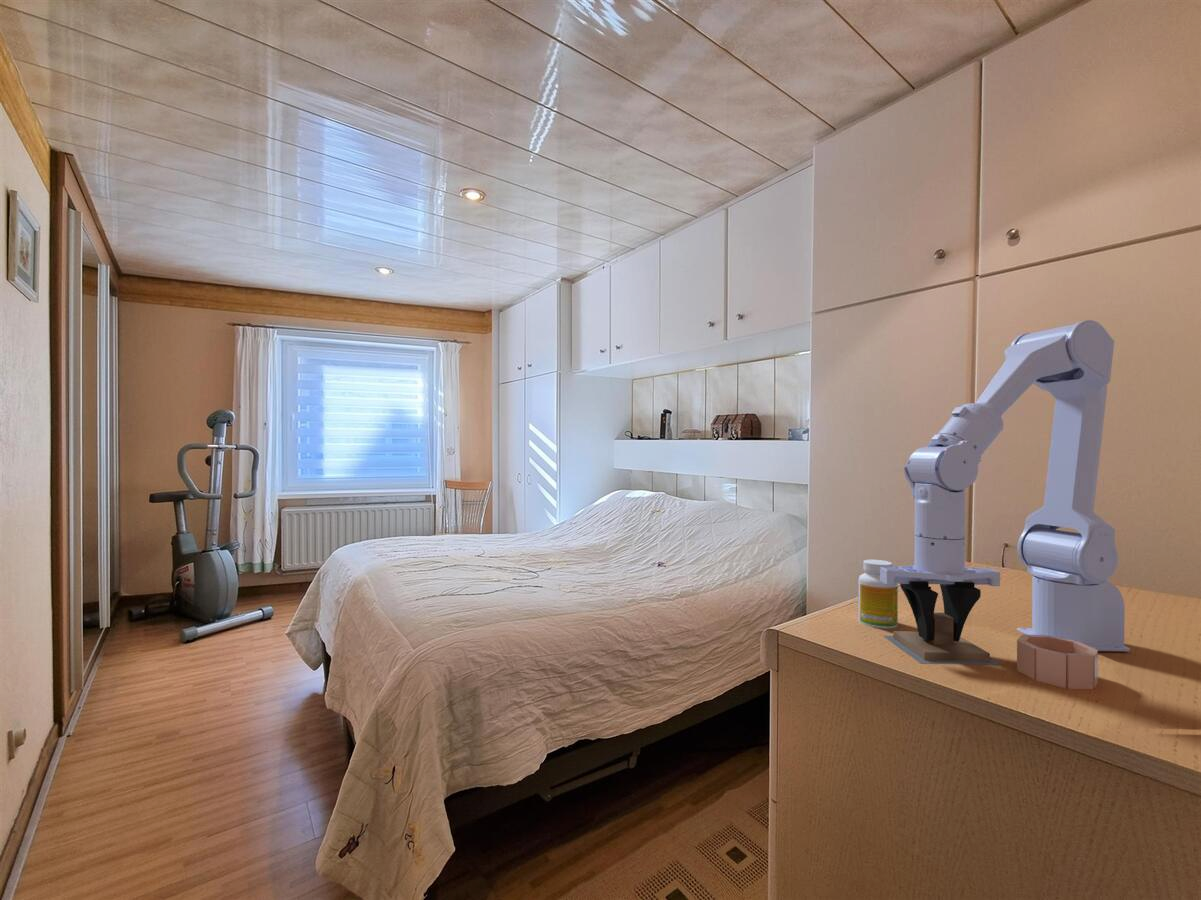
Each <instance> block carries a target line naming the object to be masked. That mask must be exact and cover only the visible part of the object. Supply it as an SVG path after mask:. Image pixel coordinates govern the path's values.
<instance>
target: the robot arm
mask: <svg viewBox="0 0 1201 900" xmlns="http://www.w3.org/2000/svg"><path fill="white" fill-rule="evenodd" d="M1114 348H1115V340H1114V339H1113V338H1112V336H1111V335H1110V334H1109V332H1108V331H1107V330H1106V328H1104V326H1103V325H1102V324H1100V322H1098V321H1096V320H1092V319H1087V320H1086V319H1085V320H1082V321H1079V322H1077V323H1073V324H1067V325H1063V326H1058V327H1055V328H1050V329H1044V330H1041V331H1034V332H1025V333H1022V334H1019V335H1018V336H1017V337H1015V338H1014V340H1013V341H1012V342H1011V344H1010V345H1009V346H1008V347H1007V348H1006V349H1005V350H1004V362H1003V363H1002V365H1001V366H1000V368H999V369H998V371H997V372H996V373H995V374H994V376H993V377H992V379H991V380H990V381H989V383H988V385H987V386H986V388H984V391H983V392H982V393H980V396H979V398H978V399H977V400H976V402H971V403H964V404H962V405H960V406H958V407H957V406H956V407H955V408H954V409H952V411H951V413H950V414H951V417H950V419H949V420H948V421H947V422H946V423H945V424H944V426H943V427H942V428H941V429H940V430H939V432H938V433H935V434H934V435H933V436H932V437H931V439H930V442H929V444H928V446H922V447H919V448H917V449H916V450H914V452H912V454H911V455H910V456H909V457H908V459H907V462H906V465H905V466H903V473H904V476H905V479H906V480H907V482H908V483H909V485H910V488H911V495H910V496H912V498H913V500H914V532H913V534H914V546H913V547H914V551H913V552H914V556H913V557H914V561H913V562H914V564H913V565H901V566H899V565H898V566H893V567H880V581H881V582H883V583H885V584H887V585H894V584H898V585H900V588H901V590H902V592H903V594H904V595H905V597H906V599H907V601H908V603H909V606H910V608H911V610H912V613H913V616H914V620H915V623H916V628H917V631H918V633H919V636H920V637H922V638H923V639H925V640H927V641H932V639H933V616H934V613H935V608H936V603H937V599H938V598H939V597H938V596H939V593H938V592H936V591H935V590H933V589H932V586H930V585H939V586H940V590H941V591H940V592H941V595H942V596H941V597H942V602H943V613H944V614H946V615H948V616H950V617H952V618H954V640H953V641H959V640H960V637H962V632H963V629H964V626H965V623H966V621H967V619H968V616H969V614H970V612H971V611H972V609H973V607H974V606H975V604H977V602H978V601H979V599H980V598H981V594H982V593H981V588H980V589H979V588H977V587H976V586H977V585H978V586H990V587H1001V571H998V570H996V569H992V568H981V567H979V568H978V567H967V566H966V489H967V488H969V487H970V486H971V485H972V484H975V482H976V480H977V478H978V472H979V464H980V463H981V462H982V460H981V459H982V456H983V454H984V452H986V451H987V450H988V448H989V447H990V446H991V444H992V443H993V442H994V441H995V440H996V439H997V437H999V435H1000V433H1002V431H1003V429H1004V428H1005V427H1004V424H1005V423H1004V420H1003V417H1002V416H1004V414H1005V413H1006V412H1007V411H1008V410H1009V409H1010V408H1011V407H1012V406H1013V405H1014V404H1015V403H1016V402H1017V401H1018V400H1019V399H1020V398H1021V396H1022V395H1024V394H1025V392H1027V390H1028V389H1029V388H1030V387H1031V386H1032V385H1035V386H1036V387H1038V388H1039V389H1041V390H1042V391H1045V392H1049V393H1050V395H1051V396H1053V398H1054V399H1055V404H1054V413H1053V423H1052V430H1051V438H1050V440H1051V441H1050V448H1049V455H1048V456H1049V458H1048V466H1047V473H1046V484H1045V490H1044V491H1045V493H1044V499H1043V501H1044V502H1043V506H1042V507H1041V508H1040V507H1039V509H1038V510H1035V511H1034V512H1032V513H1031V514H1029V515H1027V517H1026V518H1025V524H1024V528H1023V531H1022V533H1021V534H1020V536H1019V538H1018V541H1017V545H1016V547H1017V554H1018V558H1019V560H1020V562H1021V563H1022V564H1023V565H1024V566H1026V568H1027V571H1026V572H1027V573H1028V574H1031V576H1032V579H1031V580H1032V584H1031V586H1032V588H1031V589H1032V590H1031V591H1032V595H1031V596H1032V599H1031V604H1032V605H1031V608H1032V609H1031V611H1032V613H1031V614H1032V615H1031V617H1032V619H1031V621H1032V622H1031V623H1032V624H1031V625H1032V626H1031V627H1030V628H1029V627H1017V628H1016V631H1018V632H1020V633H1022V634H1023V635H1046V636H1048V635H1049V636H1054V637H1059V638H1064V639H1069V640H1074V641H1076V642H1080V643H1083V644H1085V645H1087V646H1090V647H1092V648H1094V649H1097V650H1098V652H1130V651H1131V648H1130V647H1128V646H1126V645H1125V608H1126V607H1125V606H1126V605H1125V601H1124V597H1123V595H1122V593H1121V590H1119V588H1118V587H1117V586H1116V585H1115V584H1113V583H1112V582H1110V581H1108V580H1109V579H1110V578H1111V577H1112V576H1113V574H1115V572H1116V570H1117V568H1118V564H1119V554H1118V550H1117V547H1116V542H1115V535H1116V529H1115V528H1114V527H1113V526H1112V525H1111V524H1110V523H1108V522H1107V521H1105V520H1104V519H1103V518H1102V517H1100V515H1098V514H1097V513H1095V501H1096V494H1097V493H1096V492H1097V486H1098V485H1097V483H1098V476H1099V474H1098V473H1099V465H1100V458H1101V457H1100V456H1101V449H1102V447H1101V446H1102V438H1103V430H1104V421H1105V413H1106V403H1107V394H1108V384H1109V383H1110V382H1111V377H1112V375H1111V373H1112V368H1113V367H1112V366H1113V357H1114V350H1115V349H1114ZM1060 528H1065V529H1066V528H1067V529H1072V530H1076V531H1077V532H1072V531H1066V530H1060ZM1058 529H1059V530H1058Z"/></svg>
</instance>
